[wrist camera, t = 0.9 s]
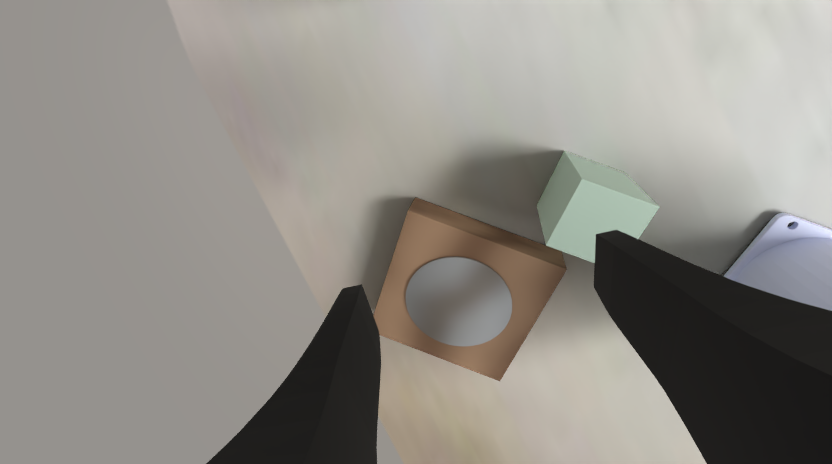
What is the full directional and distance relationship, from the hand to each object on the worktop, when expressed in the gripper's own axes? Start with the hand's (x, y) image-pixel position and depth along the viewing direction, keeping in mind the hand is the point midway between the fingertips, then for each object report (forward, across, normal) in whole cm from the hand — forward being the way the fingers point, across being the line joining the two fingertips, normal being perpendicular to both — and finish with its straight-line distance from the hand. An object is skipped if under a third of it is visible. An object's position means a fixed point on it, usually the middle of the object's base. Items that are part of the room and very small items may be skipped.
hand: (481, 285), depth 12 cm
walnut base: (+14, 0, +12) cm, 18 cm away
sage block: (+13, -9, +5) cm, 17 cm away
